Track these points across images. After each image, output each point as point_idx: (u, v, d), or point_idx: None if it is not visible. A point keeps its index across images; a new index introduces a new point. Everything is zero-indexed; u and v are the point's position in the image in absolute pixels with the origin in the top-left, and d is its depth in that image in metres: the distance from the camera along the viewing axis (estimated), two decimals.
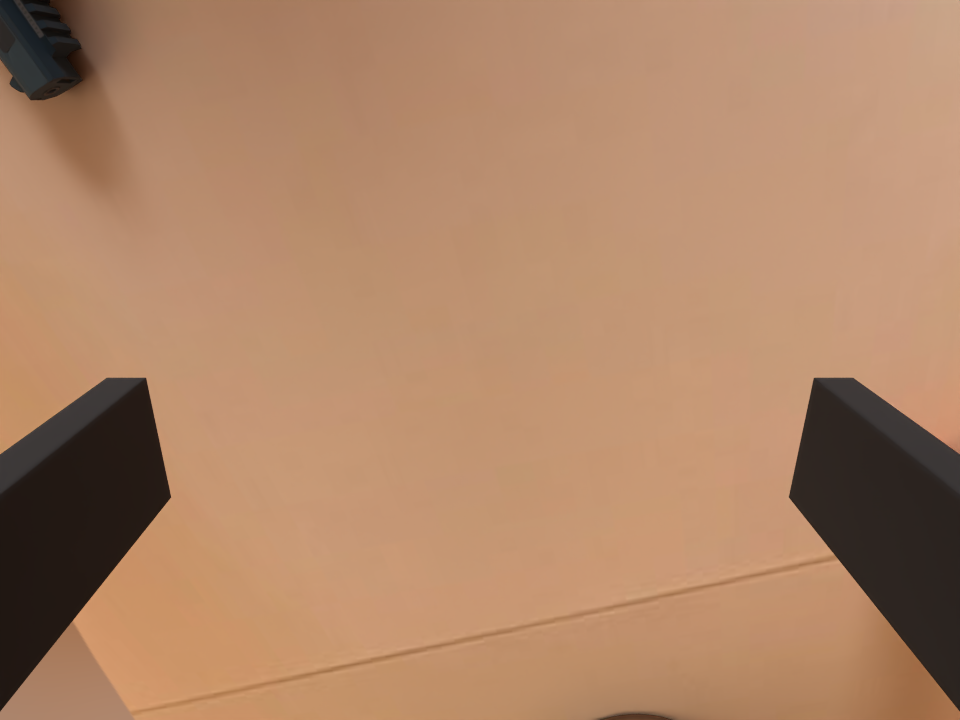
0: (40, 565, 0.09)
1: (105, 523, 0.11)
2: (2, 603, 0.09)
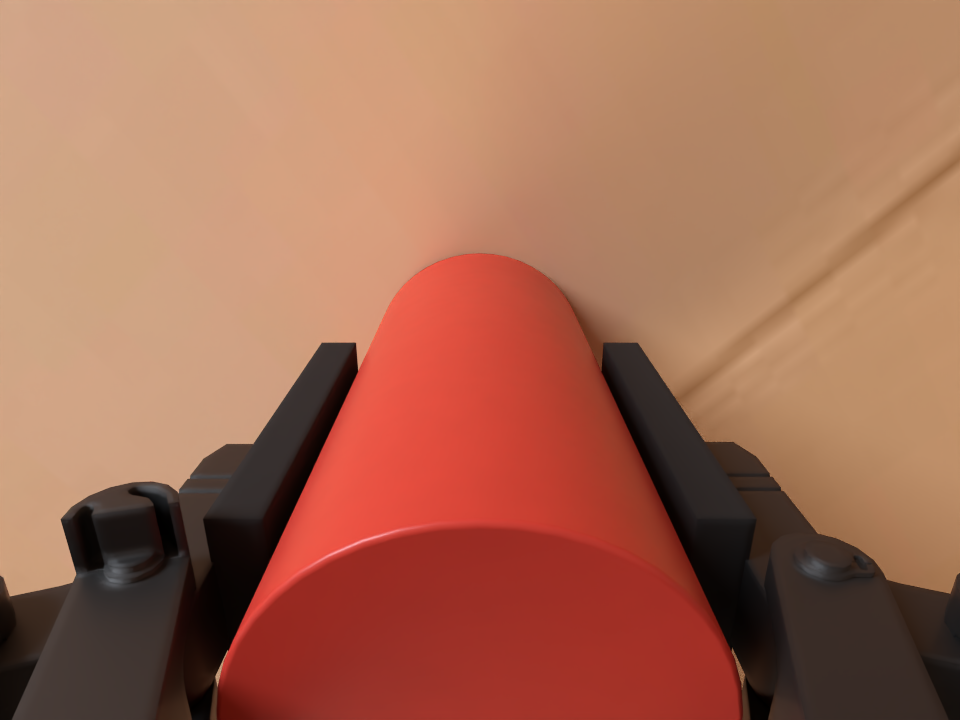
0: None
1: None
2: None
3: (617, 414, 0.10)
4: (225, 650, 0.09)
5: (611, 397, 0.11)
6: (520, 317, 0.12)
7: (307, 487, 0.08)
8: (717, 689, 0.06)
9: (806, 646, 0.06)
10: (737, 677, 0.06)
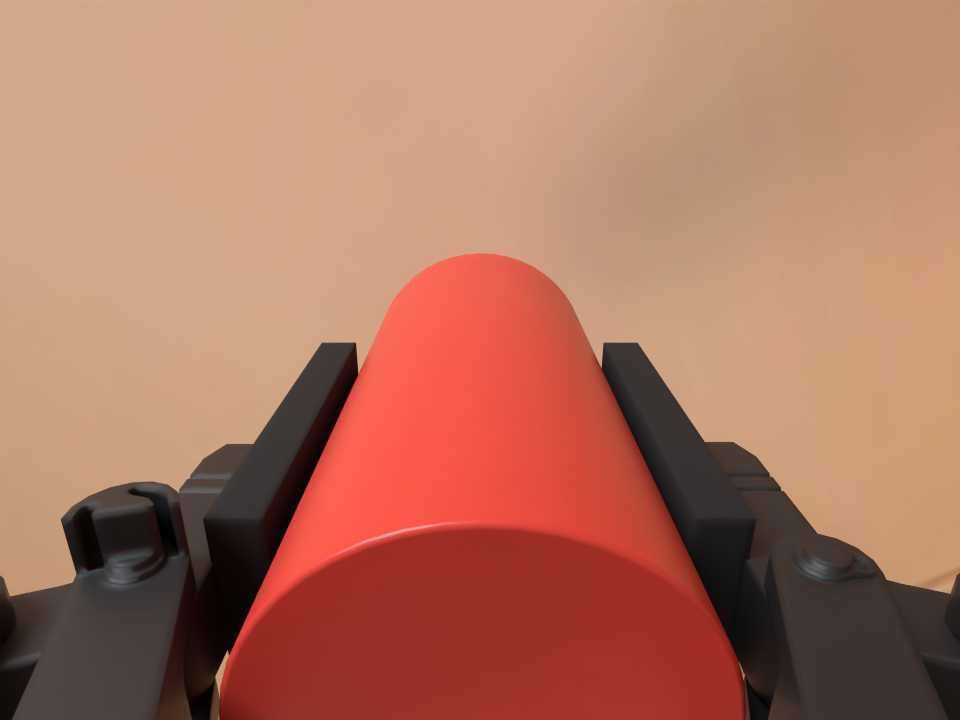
0: None
1: None
2: None
3: (619, 414, 0.10)
4: (224, 651, 0.09)
5: (613, 397, 0.11)
6: (521, 317, 0.12)
7: (309, 487, 0.08)
8: (720, 690, 0.06)
9: (806, 646, 0.06)
10: (740, 678, 0.06)
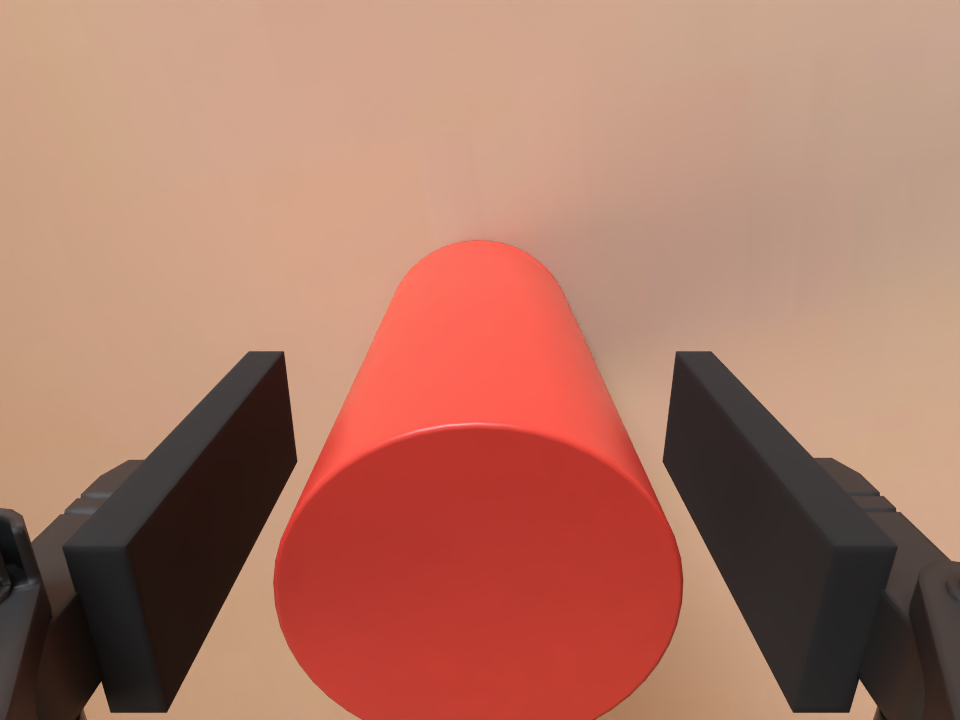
0: (229, 508, 0.11)
1: (262, 478, 0.12)
2: (211, 536, 0.10)
3: (594, 368, 0.12)
4: (96, 685, 0.08)
5: (591, 357, 0.13)
6: (513, 290, 0.13)
7: (338, 420, 0.10)
8: (662, 561, 0.08)
9: None
10: (677, 551, 0.08)
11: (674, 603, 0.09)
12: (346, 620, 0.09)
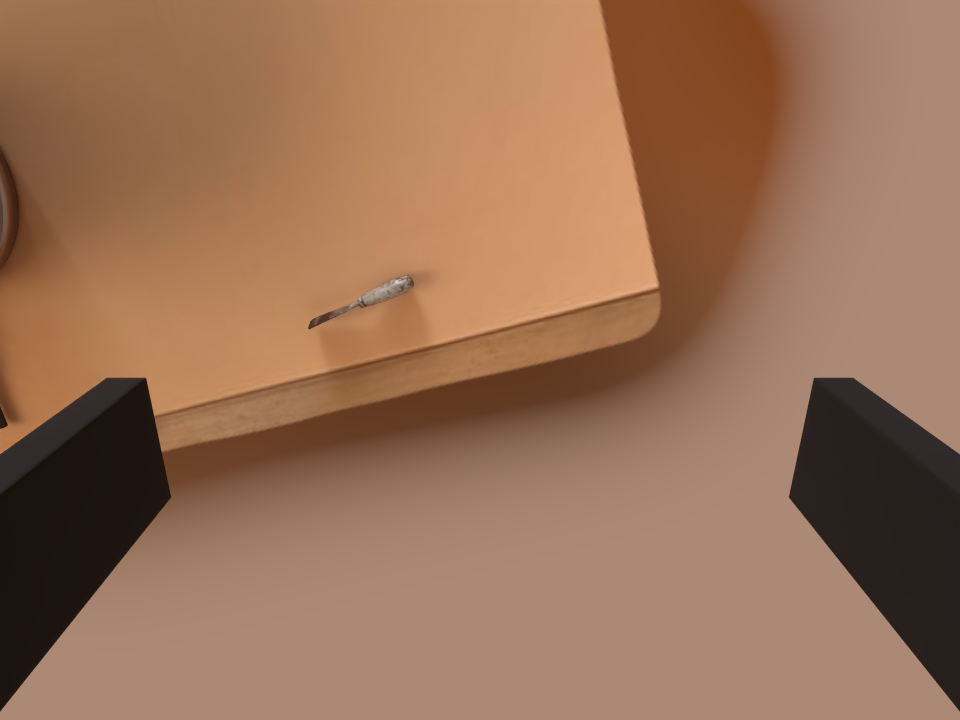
0: (40, 564, 0.09)
1: (105, 523, 0.11)
2: (2, 603, 0.09)
3: None
4: None
5: None
6: None
7: None
8: None
9: None
10: None
11: None
12: None
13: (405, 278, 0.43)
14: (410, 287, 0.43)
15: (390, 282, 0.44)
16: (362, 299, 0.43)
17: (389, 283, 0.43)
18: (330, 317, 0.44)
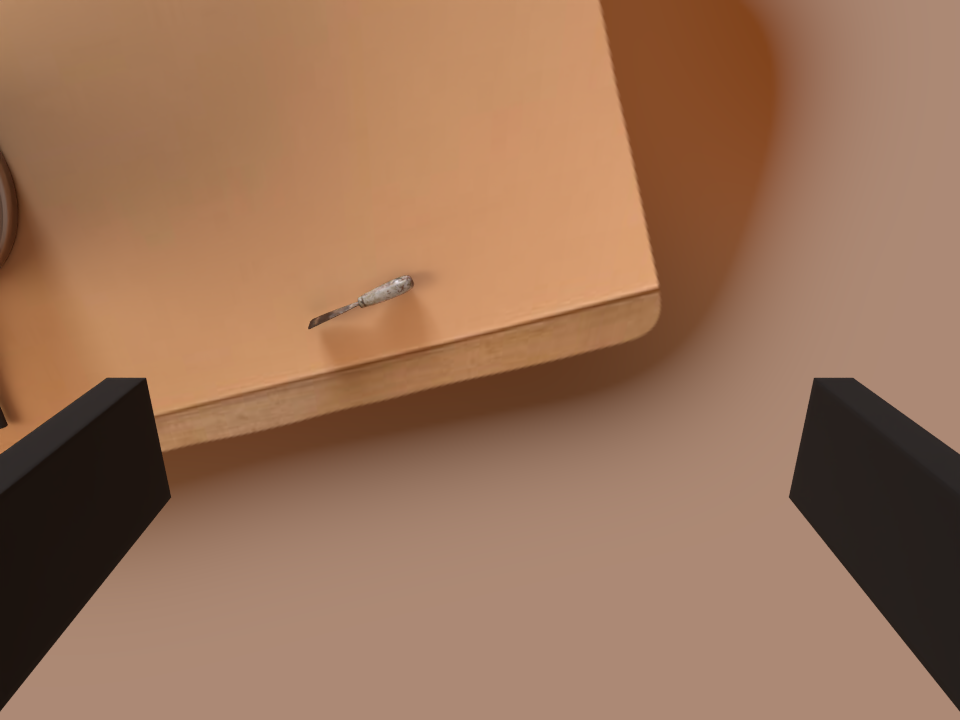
0: (40, 564, 0.09)
1: (105, 523, 0.11)
2: (2, 603, 0.09)
3: None
4: None
5: None
6: None
7: None
8: None
9: None
10: None
11: None
12: None
13: (405, 278, 0.43)
14: (410, 287, 0.43)
15: (390, 282, 0.44)
16: (362, 299, 0.43)
17: (389, 283, 0.43)
18: (330, 317, 0.44)
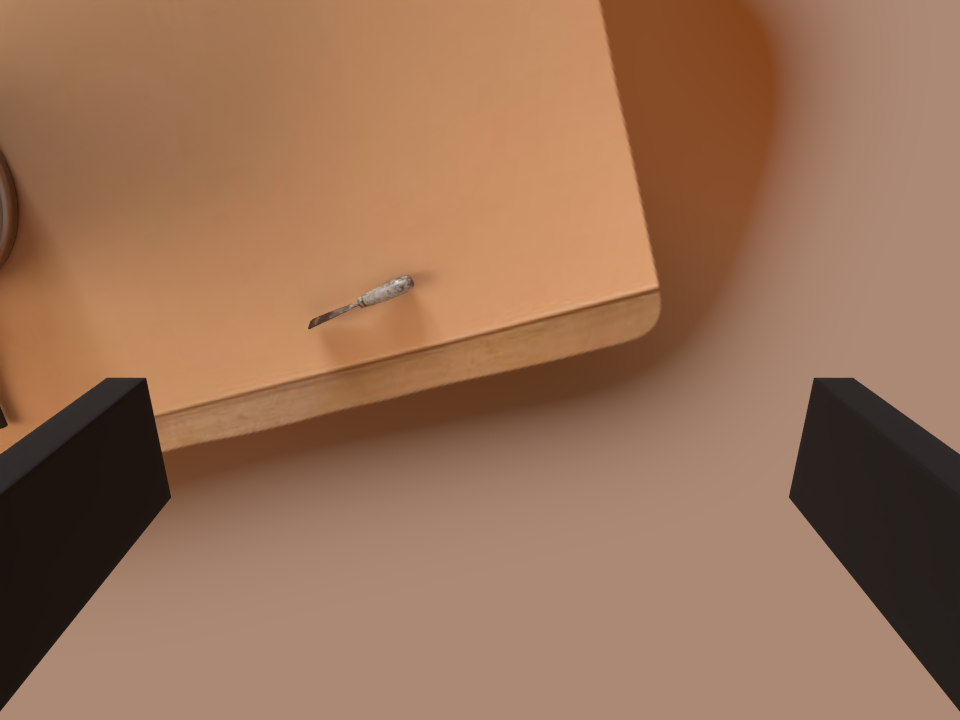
0: (40, 564, 0.09)
1: (105, 523, 0.11)
2: (2, 603, 0.09)
3: None
4: None
5: None
6: None
7: None
8: None
9: None
10: None
11: None
12: None
13: (405, 278, 0.43)
14: (410, 287, 0.43)
15: (390, 282, 0.44)
16: (362, 299, 0.43)
17: (389, 283, 0.43)
18: (330, 317, 0.44)
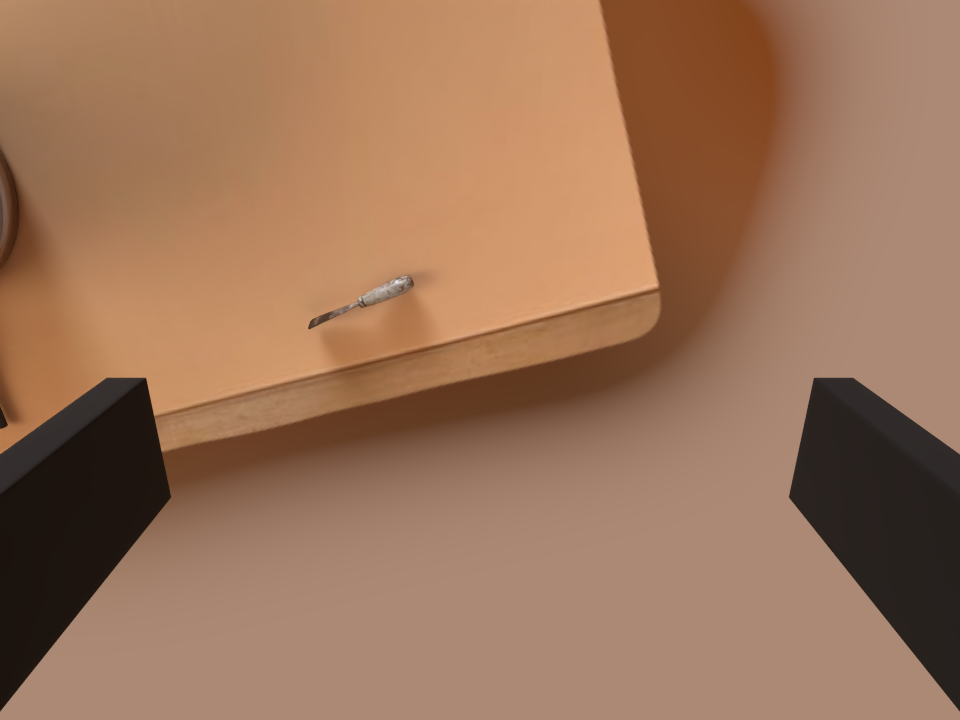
0: (40, 564, 0.09)
1: (105, 523, 0.11)
2: (2, 603, 0.09)
3: None
4: None
5: None
6: None
7: None
8: None
9: None
10: None
11: None
12: None
13: (405, 278, 0.43)
14: (410, 287, 0.43)
15: (390, 282, 0.44)
16: (362, 299, 0.43)
17: (389, 283, 0.43)
18: (330, 317, 0.44)
